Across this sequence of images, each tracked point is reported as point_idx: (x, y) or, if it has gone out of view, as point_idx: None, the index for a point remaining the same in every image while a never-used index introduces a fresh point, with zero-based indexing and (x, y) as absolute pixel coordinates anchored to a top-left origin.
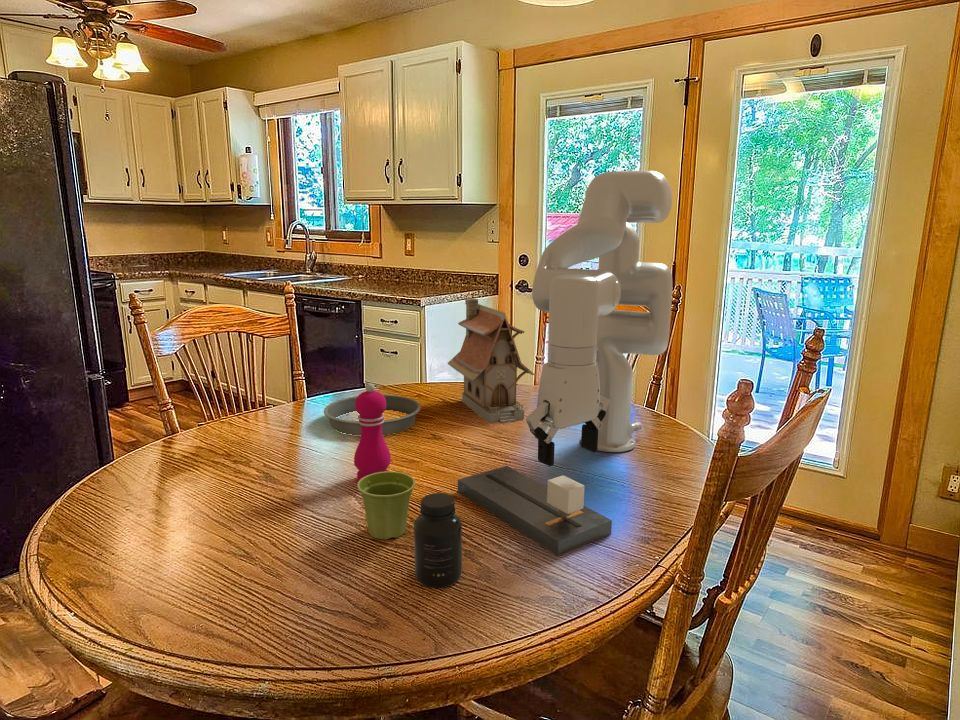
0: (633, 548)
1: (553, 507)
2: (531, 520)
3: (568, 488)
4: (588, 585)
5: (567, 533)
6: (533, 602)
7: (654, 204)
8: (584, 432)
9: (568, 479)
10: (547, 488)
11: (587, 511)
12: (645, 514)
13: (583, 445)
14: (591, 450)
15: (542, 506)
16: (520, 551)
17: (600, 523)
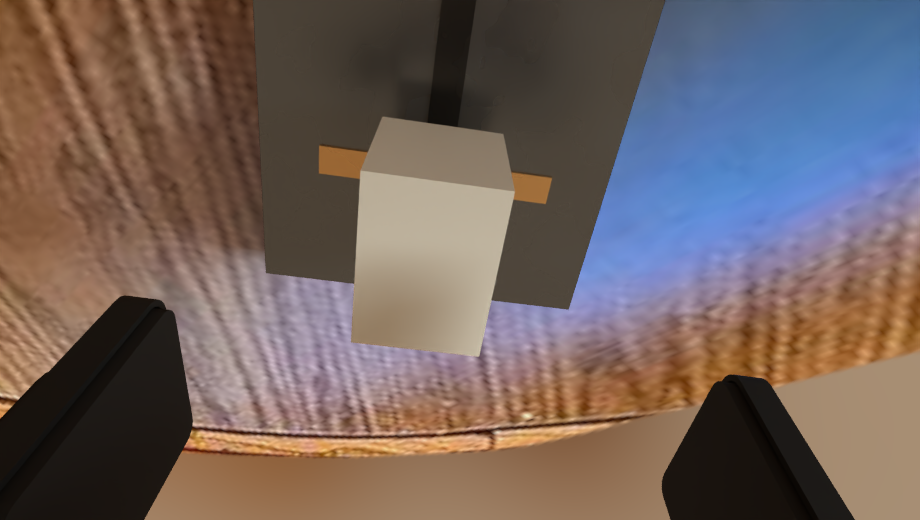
0: (524, 360)
1: (486, 64)
2: (287, 79)
3: (373, 325)
4: (253, 376)
5: (340, 260)
6: (58, 333)
7: None
8: None
9: (483, 253)
10: (369, 148)
11: (570, 205)
12: (795, 278)
13: (714, 417)
14: (670, 473)
15: (447, 13)
16: (178, 127)
17: (511, 296)
